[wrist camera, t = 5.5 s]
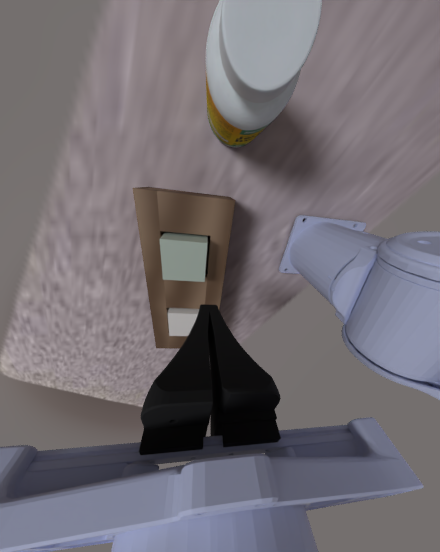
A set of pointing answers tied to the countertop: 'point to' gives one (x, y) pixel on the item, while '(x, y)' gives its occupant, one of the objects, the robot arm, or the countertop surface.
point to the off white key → (181, 321)
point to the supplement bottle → (255, 62)
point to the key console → (192, 220)
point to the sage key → (183, 256)
